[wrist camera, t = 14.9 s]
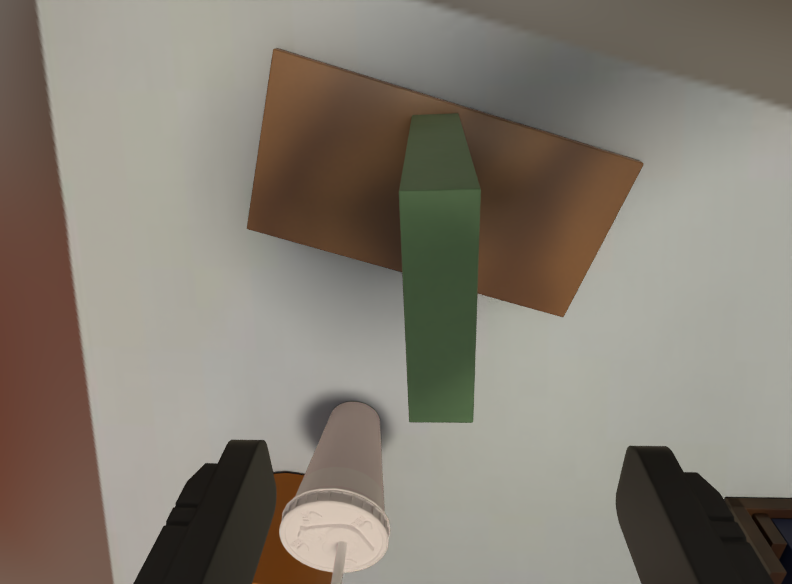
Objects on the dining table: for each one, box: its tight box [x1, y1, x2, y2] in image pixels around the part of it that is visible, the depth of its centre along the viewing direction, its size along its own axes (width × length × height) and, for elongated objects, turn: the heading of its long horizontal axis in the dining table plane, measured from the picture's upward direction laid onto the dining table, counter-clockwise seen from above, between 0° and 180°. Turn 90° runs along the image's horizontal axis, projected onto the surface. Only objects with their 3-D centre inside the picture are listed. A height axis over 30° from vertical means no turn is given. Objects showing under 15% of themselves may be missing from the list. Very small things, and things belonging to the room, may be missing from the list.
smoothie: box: [279, 402, 390, 584], centre depth 31 cm, size 6×6×14 cm
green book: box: [399, 113, 481, 423], centre depth 23 cm, size 2×9×13 cm, turn 3°
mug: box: [252, 473, 333, 584], centre depth 39 cm, size 9×12×9 cm
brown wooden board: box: [247, 48, 643, 317], centre depth 29 cm, size 20×10×1 cm, turn 74°
